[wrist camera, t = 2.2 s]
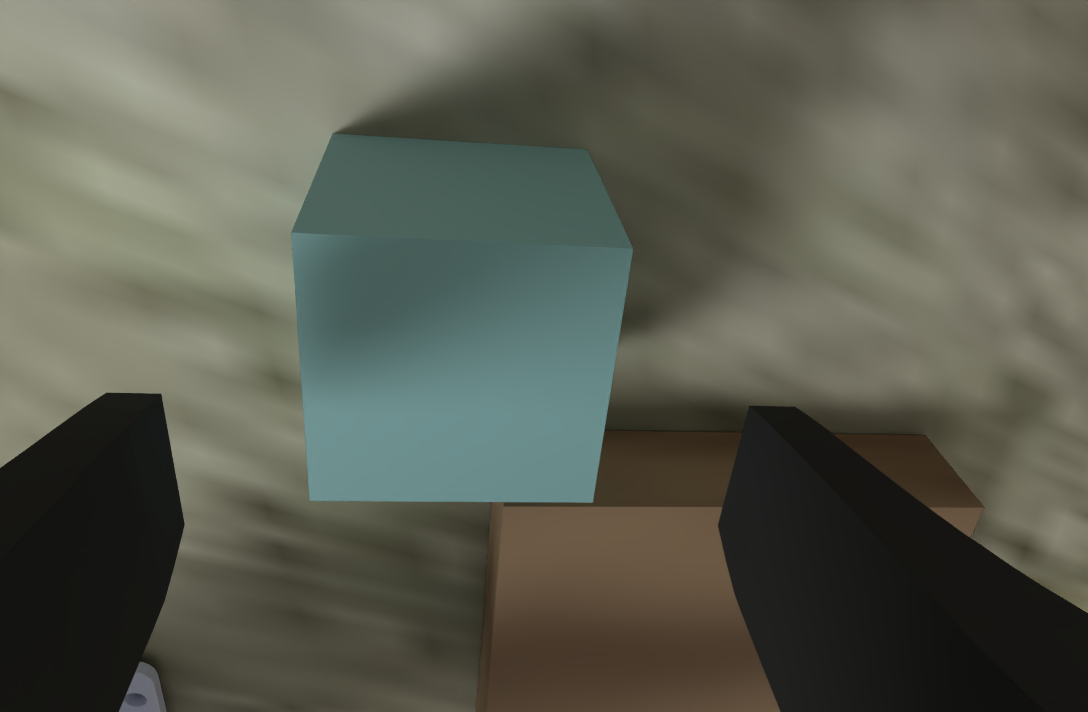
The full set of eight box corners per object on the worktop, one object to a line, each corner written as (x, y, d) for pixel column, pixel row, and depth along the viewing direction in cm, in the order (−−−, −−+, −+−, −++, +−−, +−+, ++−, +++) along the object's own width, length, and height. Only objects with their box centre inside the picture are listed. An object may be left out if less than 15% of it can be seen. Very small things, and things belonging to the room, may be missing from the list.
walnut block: (814, 707, 24) (849, 789, 22) (475, 718, 23) (477, 806, 21) (925, 435, 19) (984, 507, 17) (497, 429, 18) (503, 506, 16)
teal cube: (561, 359, 17) (592, 502, 14) (341, 353, 17) (309, 501, 13) (586, 147, 15) (633, 248, 11) (333, 131, 14) (290, 232, 11)
